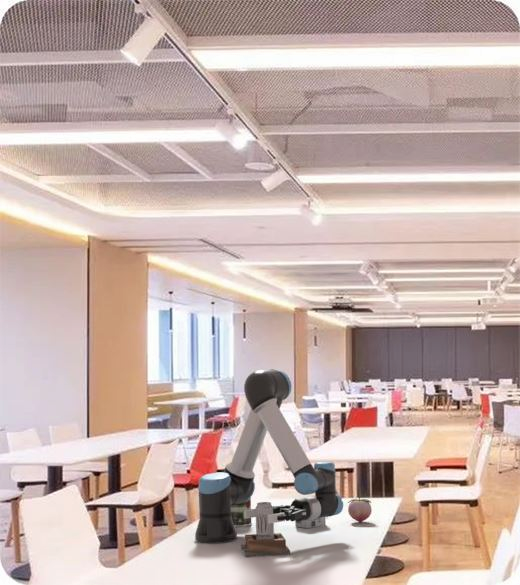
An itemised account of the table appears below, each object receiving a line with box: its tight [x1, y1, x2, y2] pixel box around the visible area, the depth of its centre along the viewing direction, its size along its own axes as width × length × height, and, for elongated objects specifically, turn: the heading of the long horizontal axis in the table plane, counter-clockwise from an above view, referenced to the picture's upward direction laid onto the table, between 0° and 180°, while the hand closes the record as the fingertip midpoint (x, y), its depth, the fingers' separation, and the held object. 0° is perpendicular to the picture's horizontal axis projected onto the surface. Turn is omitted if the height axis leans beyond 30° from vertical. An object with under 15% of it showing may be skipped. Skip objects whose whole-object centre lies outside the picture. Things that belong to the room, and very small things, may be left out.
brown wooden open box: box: [240, 532, 291, 558], centre depth 338 cm, size 15×15×5 cm
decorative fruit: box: [347, 496, 373, 523], centre depth 388 cm, size 9×8×10 cm
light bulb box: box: [294, 495, 326, 529], centre depth 384 cm, size 11×7×11 cm, turn 131°
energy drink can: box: [254, 501, 275, 540], centre depth 339 cm, size 6×6×15 cm
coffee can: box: [231, 496, 252, 528], centre depth 391 cm, size 10×10×14 cm
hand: (256, 516), depth 337 cm, fingers open, 13 cm apart
